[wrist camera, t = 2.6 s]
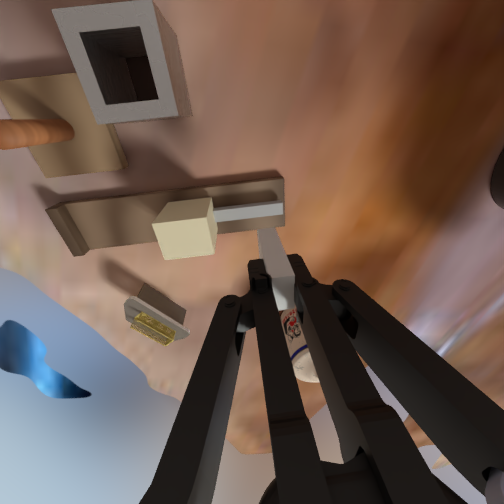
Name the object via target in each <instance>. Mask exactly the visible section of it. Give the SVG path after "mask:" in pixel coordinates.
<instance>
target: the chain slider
mask: <svg viewBox="0 0 504 504" xmlns="http://www.w3.org/2000/svg"><path fill="white" fill-rule="evenodd" d="M281 214H283V202H282V201H281V200H277V201H269V202H260V203H252V204H243V205H235V206H226V207H218V208H214V207H213V202H212V197H209V198H200V199H192V200H183V201H175V202H168V203H167V204H166V206H165V207H164V208H163V209H162V211H161V212H160V213H159V215H158V216H157V217H156V219H155V220H154V221H153V223H152V226H153V229H154V232H155V235H156V237H157V240H158V243H159V246H160V248H161V251H162V254H163V257H164V259H165V260H171V259H179V258H188V257H196V256H204V255H212V254H214V253H215V246H216V238H217V230H218V228H217V223H216V222H222V221H231V220H239V219H248V218H256V217H264V216H273V215H281Z"/></svg>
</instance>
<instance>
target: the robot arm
mask: <svg viewBox="0 0 504 504" xmlns="http://www.w3.org/2000/svg"><path fill="white" fill-rule="evenodd" d="M491 191H492V196H493V198H494V200H495V202H496V203H497V205H498V206H500V207H501V208H503V209H504V150H503V152H502V153H501V155H500V157H499V159H498V161H497V164H496V166H495V169H494V172H493V176H492V182H491ZM257 235H258V246H259V257H260V259H256V260H250V261H249V263H248V273H249V280H250V290H249V292H248V293H247V294H246V295H244V296H242V297H238V296H236V295H227V296H224V297H223V298H222V299H220V301H219V303H218V306H217V308H216V311H215V314H214V316H213V319H212V322H211V324H210V327H209V330H208V333H207V335H206V338H205V341H204V343H203V346H202V349H201V351H200V354H199V357H198V360H197V362H196V365H195V368H194V370H193V373H192V376H191V378H190V381H189V384H188V387H187V389H186V392H185V395H184V397H183V400H182V403H181V405H180V408H179V411H178V414H177V416H176V419H175V422H174V424H173V427H172V430H171V433H170V435H169V438H168V441H167V444H166V446H165V449H164V451H163V454H162V457H161V459H160V462H159V465H158V468H157V470H156V473H155V476H154V479H153V481H152V484H151V485H150V487H149V488H148V490H147V492H146V493H145V495H144V496H143V498H142V499H141V501H140V503H139V504H211V503H212V499H213V494H214V490H215V485H216V480H217V475H218V470H219V465H220V460H221V455H222V450H223V445H224V440H225V435H226V430H227V425H228V420H229V415H230V410H231V405H232V400H233V395H234V390H235V385H236V380H237V375H238V370H239V365H240V360H241V354H242V349H243V344H244V339H245V334H246V331H247V330H249V329H251V328H254V327H256V334H257V341H258V349H259V356H260V364H261V371H262V378H263V386H264V393H265V401H266V408H267V416H268V423H269V431H270V438H271V446H272V453H273V460H274V468H275V475H276V478H275V479H274V480H273V481H272V482H271V483H270V485H269V486H268V487H267V489H266V490H265V492H264V494H263V496H262V498H261V500H260V502H259V504H468V503H467V502H465V501H464V500H463V499H462V498H461V497H460V496H458V495H457V494H456V493H455V492H454V491H453V490H451V489H450V488H449V487H448V486H446V485H445V484H444V483H443V482H442V481H441V480H439V479H438V478H437V477H436V476H435V475H434V474H432V473H431V471H430V469H429V468H428V466H427V464H426V462H425V461H424V459H423V457H422V455H421V453H420V452H419V450H418V448H417V446H416V445H415V443H414V441H413V439H412V438H411V436H410V434H409V432H408V431H407V429H406V427H405V425H404V424H403V422H402V420H401V418H400V417H399V415H398V414H397V412H396V411H395V410H394V409H393V408H392V407H391V406H389V405H387V404H385V403H384V402H383V400H382V398H381V397H380V395H379V393H378V391H377V390H376V388H375V386H374V384H373V382H372V380H371V378H370V377H369V375H368V373H367V371H366V369H365V367H364V365H363V363H362V362H361V360H360V358H359V356H358V354H359V355H360V356H361V357H362V358H363V360H364V361H365V362H366V363H367V364H368V366H369V367H370V368H371V369H372V370H373V371H374V373H375V374H376V375H377V376H378V378H379V379H380V380H381V381H382V382H383V383H384V385H385V386H386V387H387V388H388V389H389V391H390V392H391V393H392V394H393V395H394V396H395V398H396V399H397V400H398V401H399V403H400V404H401V405H402V406H403V407H404V409H405V410H406V411H407V412H408V413H409V414H410V416H411V417H412V418H413V419H414V420H415V422H416V423H417V424H418V425H419V426H420V428H421V429H422V430H423V431H424V432H425V434H426V435H427V436H428V437H429V438H430V439H431V441H432V442H433V443H434V444H435V445H436V446H437V448H438V449H439V450H440V451H441V453H442V454H443V455H444V456H445V457H446V458H447V459H448V460H449V462H450V463H451V464H452V465H453V466H454V467H455V468H456V469H457V470H458V471H459V472H460V473H461V474H462V475H463V476H464V477H465V478H466V479H467V480H468V481H469V482H470V483H471V484H472V485H473V486H474V487H475V488H476V489H477V490H478V491H479V492H481V493H482V494H483V495H484V496H485V497H486V501H487V504H504V410H503V409H502V408H501V407H499V406H498V405H497V404H496V403H495V402H494V401H492V400H491V399H490V398H489V397H488V396H486V395H485V394H484V393H483V392H482V391H481V390H479V389H478V388H477V387H476V386H475V385H473V384H472V383H471V382H470V381H469V380H468V379H466V378H465V377H464V376H463V375H462V374H460V373H459V372H458V371H457V370H456V369H455V368H453V367H452V366H451V365H450V364H449V363H447V362H446V361H445V360H444V359H443V358H442V357H440V356H439V355H438V354H437V353H436V352H434V351H433V350H432V349H431V348H430V347H429V346H427V345H426V344H425V343H424V342H423V341H421V340H420V339H419V338H418V337H417V336H416V335H414V334H413V333H412V332H411V331H410V330H409V329H407V328H406V327H405V326H404V325H403V324H401V323H400V322H399V321H398V320H397V319H396V318H394V317H393V316H392V315H391V314H390V313H388V312H387V311H386V310H385V309H384V308H383V307H381V306H380V305H379V304H378V303H377V302H375V301H374V300H373V299H372V298H371V297H370V296H368V295H367V294H366V293H365V292H364V291H362V290H361V289H360V288H359V287H358V286H357V285H355V284H354V283H353V282H351V281H349V280H344V279H340V280H336V281H334V283H333V285H325V284H320V283H319V282H318V281H317V280H316V279H315V278H313V277H312V276H311V274H310V272H309V270H308V269H307V267H306V265H305V263H304V261H303V259H302V257H301V256H299V255H298V254H290V255H286V253H285V250H284V248H283V246H282V243H281V241H280V239H279V236H278V234H277V231H276V229H275V227H273V228H265V229H257ZM295 305H296V323H298V320H299V323H300V326H301V329H302V332H303V335H304V338H305V341H306V343H307V346H308V349H309V352H310V355H311V358H312V361H313V364H314V367H315V370H316V373H317V376H318V379H319V381H320V384H321V387H322V390H323V393H324V396H325V399H326V402H327V405H328V408H329V411H330V414H331V417H332V420H333V422H334V425H335V428H336V431H337V434H338V438H339V442H340V449H341V454H342V458H343V461H344V464H337V463H331V462H326V461H320V457H319V453H318V450H317V446H316V442H315V438H314V435H313V431H312V428H311V424H310V422H309V419H308V418H307V416H306V414H305V411H304V407H303V403H302V399H301V395H300V392H299V388H298V384H297V380H296V376H295V373H294V369H293V365H292V361H291V357H290V354H289V350H288V346H287V342H286V338H285V334H284V331H283V327H282V323H281V319H280V315H279V312H278V310H285V309H293V308H295ZM355 350H356V351H357V352H356V351H355ZM357 353H358V354H357Z"/></svg>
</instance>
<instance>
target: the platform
mask: <svg viewBox="0 0 504 504" xmlns="http://www.w3.org/2000/svg"><path fill="white" fill-rule="evenodd" d="M124 309H125V317H126V320H127V321H129V322H130V323H132V324H133V326H134V327H135V328H136V329H137V327H138V328H139V329H140V328H141V329H143V330H144V331H145V332H146V331H147V332H149V333H150V334H151V335H152V336H153V337H154V338H155V339H156V340H157V341H156V340H154V339H153V338H152V337H151V336H150V335H149V334H148V333H147V332H146V334H147V335H148V336H147V335H146V334H145V333H144V332H143V331H142V330H141V329H140V330H141V332H140V331H139V330H138V329H137V330H136V329H135V328H134V327H133V326H132V325H131V326H132V327H130V328H132V329H134V330H136V331H138V332H139V333H141V334H143V335H145V336H147V337H149V338H151V339H152V340H154V341H156V342H158V343H160V344H162V343H161V342H160V341H159V340H158V339H157V338H156V337H158V338H159V339H160V340H161V341H162V342H163V343H164V344H165V345H164V344H162V345H164V346H167V345H168V344H170V343H171V342H173V341H175V340H180V339H184V338H186V337H187V336H188V335H189V333H190V330H189V329H188V328H186V327H184V326H183V322H184V318H185V314H186V310H185V309H184V308H182V307H181V306H179V305H178V304H176V303H175V302H173V301H172V300H170V299H169V298H167V297H165V296H164V295H162V294H161V293H159V292H158V291H156V290H155V289H153V288H152V287H150V286H149V285H147V284H146V283H144V285H143V287H142V289H141V291H140V293H139V295H138V297H136V296H131V297H129V298H128V299H127V300H126V301H125V303H124ZM146 316H147V317H148V318H149V319H148V318H147V317H146ZM151 318H152V319H153V320H154V321H155V322H154V321H153V320H152V319H151ZM146 320H147V321H148V322H149V323H148V322H147V321H146ZM149 320H151V322H150V321H149ZM157 322H158V323H159V324H160V325H161V326H162V327H163V328H162V327H161V326H160V325H159V324H158V323H157ZM135 325H136V326H137V327H136V326H135ZM156 325H157V326H158V327H159V328H160V329H159V328H158V327H157V326H156ZM167 328H168V329H169V330H170V331H171V332H169V331H168V330H167ZM166 331H167V332H168V333H167V332H166ZM155 336H156V337H155ZM165 341H166V342H165Z"/></svg>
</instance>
